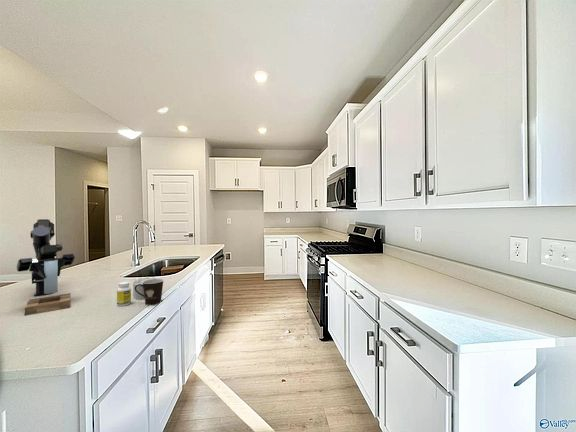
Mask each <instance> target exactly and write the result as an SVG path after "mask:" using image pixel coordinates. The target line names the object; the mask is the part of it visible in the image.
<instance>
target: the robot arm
mask: <svg viewBox="0 0 576 432" xmlns="http://www.w3.org/2000/svg"><path fill="white" fill-rule="evenodd" d="M55 235H56V234H55V223H53V222H52V221H51V220H50V219H48V218H46V219H45V218H44V219H42V218H41V219H37V220H36V222H35V223H34V224H33V229H32V230H31V231H30V239H32V246H33V250H34V252H35V258H36V259H35V258H33V257H26V258H19V259H18V261H17V264H16V270H17V272H25V271H26V272H27V271H29V272H31V285H33V284H35V293H33V296H34V297H36V296H37V297H38V296H43V295H45V296H46V294H44V279H45V278H46V276H45V273H44V261H48V260H58V277H60V276H61V275H60V274H61V270H62V268H63V267H65V266H71V265H72V264H73V263H74V261H75V257H76V256H75V254H74V253H65V254H62V255H61V257H57V253H59V252H61V251H62V250H63V245H62V243H56V244H51V242H50V241H51V240H52V238H54V236H55ZM50 294H52V293H50ZM50 294H49V295H50Z"/></svg>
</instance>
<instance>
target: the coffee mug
mask: <svg viewBox="0 0 576 432" xmlns="http://www.w3.org/2000/svg"><path fill="white" fill-rule="evenodd" d="M150 279H151V278H150ZM139 285H140V286H142V287H143V289H144V295H143V294H141V293H139V292H138V291H137V290H136V287H137V286H139ZM163 287H164V279H161V278H156V279H151V280H146V281H143V285H142V284H138V285H136V286H135V291H136V292H137V293H138V294H140V295H141V296H143V297H144V298H145V299H144V304H145V305H146V306H154V305H158V304H160V303H161V302H162V295H163Z"/></svg>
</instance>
